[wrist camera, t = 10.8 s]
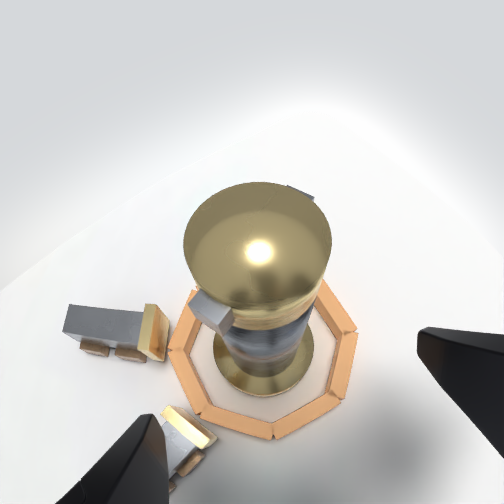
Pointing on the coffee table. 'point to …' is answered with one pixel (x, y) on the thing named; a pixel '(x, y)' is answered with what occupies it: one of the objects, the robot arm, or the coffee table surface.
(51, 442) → the coffee table surface
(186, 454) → the gray block with lugs
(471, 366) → the robot arm
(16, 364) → the coffee table surface
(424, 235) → the coffee table surface
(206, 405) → the collar
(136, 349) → the grey block with pads
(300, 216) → the brass and grey cylinder
